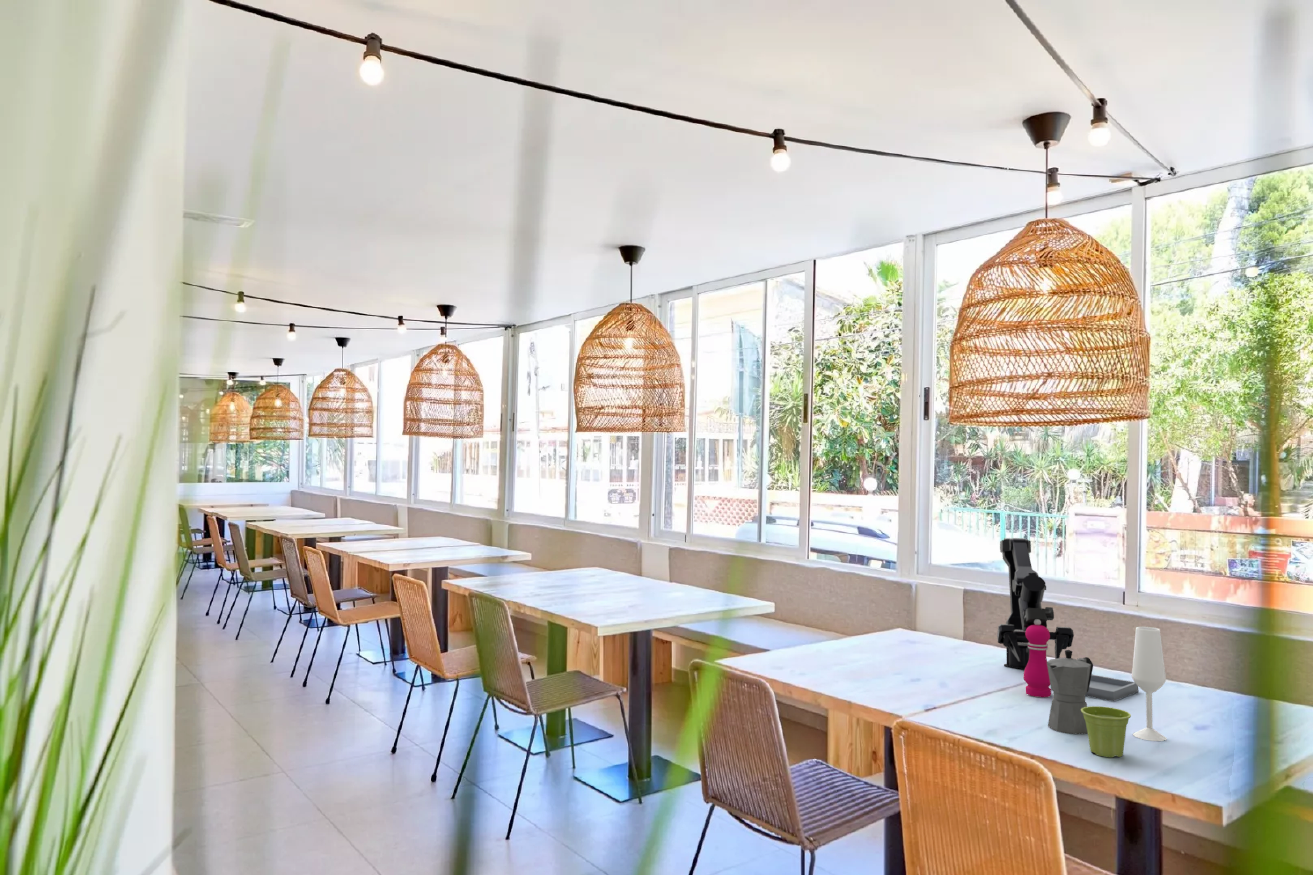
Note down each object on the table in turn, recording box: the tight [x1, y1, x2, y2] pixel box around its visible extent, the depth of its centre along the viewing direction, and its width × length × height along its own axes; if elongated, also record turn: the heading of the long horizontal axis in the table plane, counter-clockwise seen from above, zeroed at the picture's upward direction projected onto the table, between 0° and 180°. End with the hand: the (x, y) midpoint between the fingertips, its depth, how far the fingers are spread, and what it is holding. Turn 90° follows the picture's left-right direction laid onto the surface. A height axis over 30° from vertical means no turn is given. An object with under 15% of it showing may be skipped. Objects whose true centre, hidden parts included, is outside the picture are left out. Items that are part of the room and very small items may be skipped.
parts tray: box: [1085, 674, 1139, 702], centre depth 237 cm, size 16×16×2 cm
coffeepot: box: [1047, 649, 1094, 735], centre depth 202 cm, size 15×9×18 cm, turn 121°
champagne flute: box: [1131, 626, 1168, 742], centre depth 196 cm, size 7×7×24 cm
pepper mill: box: [1023, 619, 1052, 698], centre depth 233 cm, size 7×7×20 cm
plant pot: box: [1081, 705, 1132, 758], centre depth 184 cm, size 9×9×9 cm
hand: (1038, 662), depth 232 cm, fingers open, 9 cm apart
